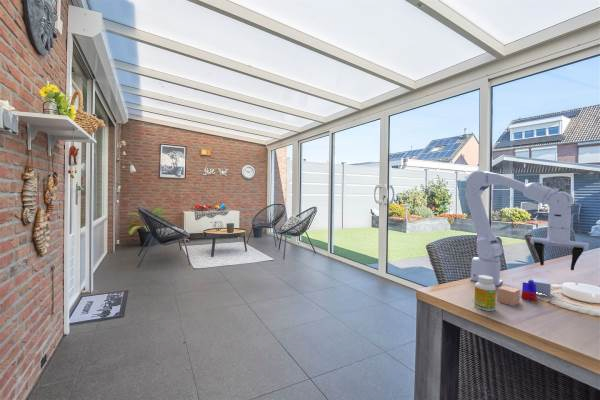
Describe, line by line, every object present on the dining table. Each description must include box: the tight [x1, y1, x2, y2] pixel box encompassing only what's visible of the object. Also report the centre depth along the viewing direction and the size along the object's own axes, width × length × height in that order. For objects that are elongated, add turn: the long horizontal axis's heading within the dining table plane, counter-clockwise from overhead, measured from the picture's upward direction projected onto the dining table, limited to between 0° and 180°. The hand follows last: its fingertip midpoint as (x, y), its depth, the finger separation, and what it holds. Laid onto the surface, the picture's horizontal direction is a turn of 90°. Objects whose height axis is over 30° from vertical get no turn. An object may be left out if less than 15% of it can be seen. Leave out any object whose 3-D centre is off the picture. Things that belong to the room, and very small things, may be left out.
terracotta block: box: [496, 285, 521, 307], centre depth 93 cm, size 4×4×4 cm
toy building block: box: [521, 279, 537, 302], centre depth 96 cm, size 4×4×8 cm
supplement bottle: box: [473, 275, 497, 312], centre depth 88 cm, size 5×5×10 cm
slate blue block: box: [531, 277, 552, 297], centre depth 101 cm, size 4×4×4 cm
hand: (556, 267), depth 97 cm, fingers open, 7 cm apart
